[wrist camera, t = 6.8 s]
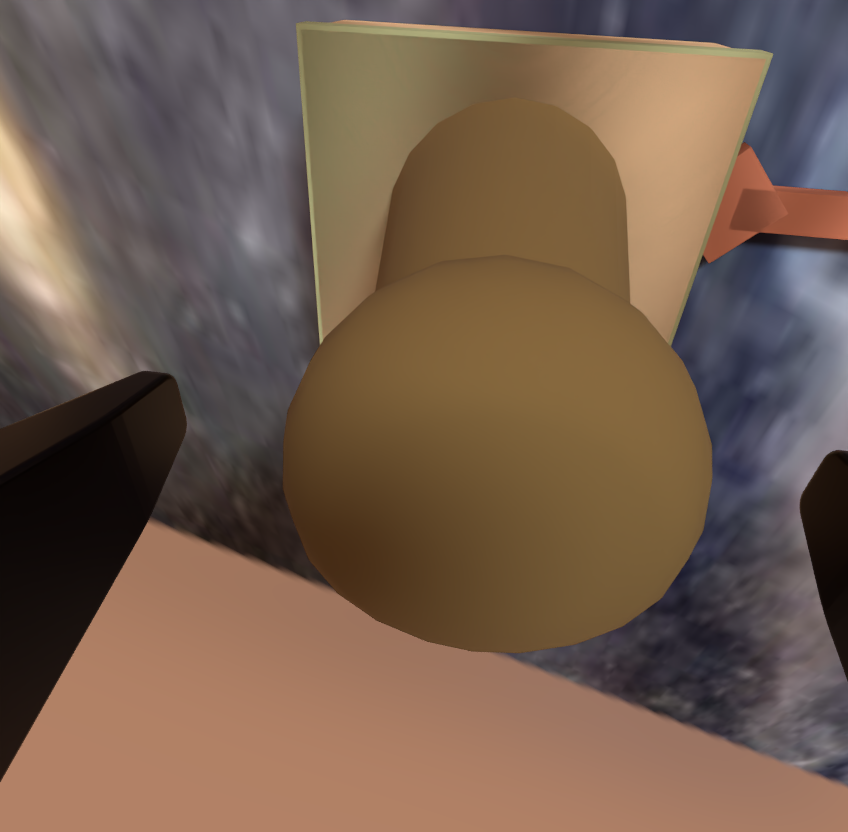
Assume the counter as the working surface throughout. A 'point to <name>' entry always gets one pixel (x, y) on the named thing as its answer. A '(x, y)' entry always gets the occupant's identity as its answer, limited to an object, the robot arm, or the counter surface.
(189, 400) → the counter surface
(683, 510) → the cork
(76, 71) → the counter surface
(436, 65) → the tan piece
